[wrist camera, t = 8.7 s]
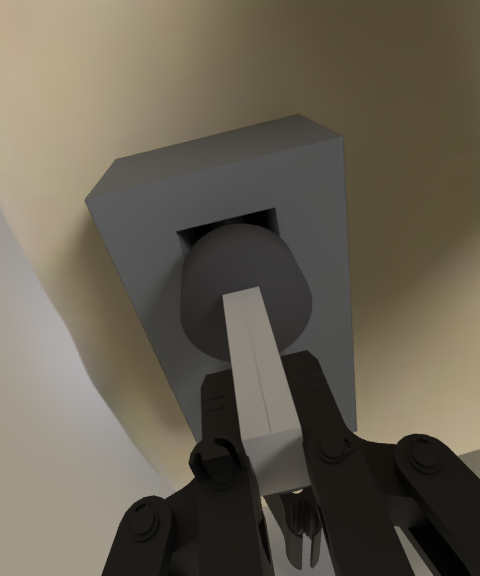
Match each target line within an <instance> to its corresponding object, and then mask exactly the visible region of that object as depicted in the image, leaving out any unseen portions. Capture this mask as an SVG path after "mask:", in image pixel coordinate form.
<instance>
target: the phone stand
mask: <svg viewBox="0 0 480 576" xmlns="http://www.w3.org/2000/svg"><path fill="white" fill-rule="evenodd" d="M263 497H264V499H265V501H266V503H267V505H268V506H269V508H270V510H271V512H272V514H273V516H274V517H275V519H276V521H277V523H278V525H279V526H280V528H281V530H282V533H283V535H284V539H285V544H286V555H287V558H288V560H289V561H290V563H291V564H292V565H293V566H294V567H295V568H297V569H299V570H302V542H303V541H302V540H303V535H302V534H304V533H305V534H306V536H307V537H308V536H309V538H310V539H311V540H312V543H311V559H310V566H311V568H313V567H315V565H316V564H317V562H318V560H319V553H320V542H321V530H322V525H321V521H320V520H319V518H318V512H317V507H316V501H315V496H314V493H313V489H312V486H311V485H310V486H308V487H306V488H304V489H303V491H302V492H300V493H298V494H295V493H292V492H290V493H284V494H269V495H265V496H263ZM298 532H299V533H300V534H299V533H298Z"/></svg>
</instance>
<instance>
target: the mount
mask: <svg viewBox="0 0 480 576" xmlns="http://www.w3.org/2000/svg"><path fill="white" fill-rule="evenodd" d="M85 203H86V205H87V207H88V209H89V211H90V213H91V216H92V218H93V220H94V222H95V224H96V226H97V228H98V231H99V233H100V235H101V237H102V239H103V241H104V244H105V246H106V248H107V250H108V252H109V254H110V257H111V259H112V261H113V263H114V265H115V267H116V269H117V272H118V274H119V276H120V278H121V280H122V282H123V285H124V287H125V289H126V291H127V293H128V295H129V298H130V300H131V302H132V304H133V306H134V308H135V311H136V313H137V315H138V317H139V319H140V321H141V323H142V326H143V328H144V330H145V332H146V334H147V336H148V339H149V341H150V343H151V345H152V347H153V349H154V352H155V354H156V356H157V358H158V360H159V362H160V365H161V367H162V369H163V371H164V373H165V375H166V377H167V380H168V382H169V384H170V386H171V388H172V390H173V393H174V395H175V397H176V399H177V401H178V403H179V406H180V408H181V410H182V412H183V414H184V416H185V419H186V421H187V423H188V425H189V427H190V429H191V431H192V434H193V436H194V438H195V440H196V442H197V444H198V443H199V442H200V441H201V440H202V423H201V415H202V413H201V386H202V383H203V381H204V379H205V376H206V375H207V374H211V373H216V372H220V371H224V370H228V369H232V364H231V362H227V361H222V360H218V359H215V358H213V357H210V356H208V355H206V354H205V353H203V352H201V351H200V350H199V349H197V348H196V347H195V346H194V345H193V344H192V343H191V342H190V341H189V339H188V338H187V336H186V335H185V333H184V330H183V328H182V325H181V320H180V301H181V280H182V268H183V264H184V261H185V258H186V256H187V254H188V253H189V251H190V250H191V248H192V247H193V246H194V244H195V243H196V242H197V238H196V235H195V231H194V228H193V227H196V226H200V225H205V224H209V223H213V222H217V221H221V220H225V219H229V218H233V217H237V216H242V215H246V214H250V213H254V212H258V211H261V216H262V222H263V227H264V228H266V229H268V230H270V231H272V232H274V233H275V234H277V235H278V236H279V237H280V238H281V239H282V240H284V242H285V243H286V244H287V245H288V247H289V249H290V250H291V252H292V254H293V256H294V258H295V260H296V262H297V264H298V266H299V268H300V269H301V271H302V273H303V275H304V277H305V279H306V281H307V283H308V285H309V288H310V290H311V294H312V313H311V316H310V320H309V322H308V324H307V326H306V328H305V330H304V331H303V333H302V334H301V335H300V336H299V338H298V339H297V340H296V341H295V342H294V343H293V344H291V345H290V346H289V347H288V348H286V349H285V350H284V353H285V355H288V354H292V353H296V352H301V351H305V350H308V351H309V352H310V353H311V354H312V355H313V356H315V357H316V358H317V359H318V361H319V363H320V366H321V368H322V371H323V374H324V375H325V378H326V380H327V383H328V385H329V387H330V389H331V392H332V394H333V397H334V399H335V401H336V404H337V406H338V408H339V411H340V413H341V415H342V418H343V420H344V422H345V424H346V426H347V427H348V429H349V430H350V431H351V432H356V431H357V420H356V398H355V377H354V356H353V335H352V314H351V293H350V271H349V250H348V229H347V208H346V187H345V165H344V144H343V136H341V135H339V134H337V133H335V132H333V131H331V130H329V129H327V128H325V127H323V126H321V125H319V124H317V123H315V122H313V121H311V120H309V119H307V118H305V117H303V116H301V115H299V114H298V115H294V116H290V117H285V118H281V119H277V120H273V121H269V122H265V123H261V124H257V125H253V126H249V127H245V128H241V129H237V130H233V131H229V132H225V133H221V134H217V135H213V136H209V137H204V138H200V139H196V140H192V141H188V142H184V143H180V144H176V145H172V146H168V147H164V148H160V149H156V150H152V151H148V152H144V153H140V154H136V155H132V156H128V157H124V158H119V159H116V160H115V161H114V162H113V164H112V165H111V166H110V167H109V169H108V170H107V171H106V173H105V174H104V175H103V177H102V178H101V179H100V180H99V182H98V183H97V184H96V186H95V187H94V188H93V189H92V191H91V192H90V193H89V195H88V196H87V197H86V198H85Z"/></svg>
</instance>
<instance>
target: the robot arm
mask: <svg viewBox="0 0 480 576" xmlns="http://www.w3.org/2000/svg"><path fill="white" fill-rule="evenodd" d="M222 296H223V304H224V311H225V319H226V326H227V334H228V341H229V349H230V357H231V364H232V369H228V370H224V371H220V372H216V373H211V374H207V375H206V376H205V379H204V381H203V383H202V386H201V413H202V415H201V423H202V440H201V441H200V442H199V443H198V444H197V445H196V446H195V447H194V449H193V451H192V452H191V454H190V459H189V466H190V468H191V470H192V472H193V474H194V476H195V478H194V479H193V480H192V481H191V482H190V483H189V484H188V485H186V486H185V487H184V488H182V489H181V490H179V491H177V492H176V493H174V494H172V495H171V496H169V497H167V498H166V499H163V498H161V497H158V496H154V495H153V496H148V497H143V498H142V499H140V500H138V501H137V502H135V503H134V504H133V505H132V506H131V507H130V508H129V509H128V511H126V513H125V515H124V516H123V518H122V520H121V522H120V524H119V527H118V530H117V533H116V536H115V539H114V541H113V544H112V547H111V550H110V553H109V556H108V558H107V561H106V564H105V567H104V570H103V572H102V575H101V576H275V574H274V568H273V561H272V555H271V549H270V543H269V537H268V531H267V525H266V519H265V516H264V513H263V511H262V504H261V498H260V496H265V495H269V494H273V493H278V492H282V491H286V490H291V489H295V488H299V487H304V486H308V485H311V486H312V489H313V493H314V496H315V501H316V507H317V512H318V518H319V520H320V521H321V525H322V528H323V532H324V536H325V539H326V543H327V546H328V550H329V553H330V557H331V561H332V564H333V568H334V572H335V575H336V576H415V575H414V572H413V570H412V568H411V565H410V563H409V561H408V558H407V556H406V554H405V551H404V549H403V547H402V544H401V542H400V540H399V537H398V535H397V533H396V530H395V528H394V526H399V527H400V528H401V530H402V531H403V532H404V534H405V535H406V537H407V538H408V540H409V541H410V542H411V544H412V545H413V547H414V548H415V550H416V551H417V552H418V554H419V555H420V556H421V558H422V559H423V561H424V562H425V564H426V565H427V567H428V568H429V570H430V571H431V572H432V574H433V575H434V576H480V479H479V478H478V477H477V476H476V475H475V474H474V473H473V472H472V471H471V470H470V469H469V468H468V467H467V466H466V465H465V464H464V463H463V462H462V461H461V460H460V459H459V458H458V457H457V456H456V455H455V453H454V452H453V451H452V450H451V449H450V448H449V447H448V446H446V445H445V444H444V443H442V442H441V441H440V440H438V439H436V438H434V437H431V436H429V435H426V434H411V435H408V436H405V437H403V438H402V439H401V440H400V441H399V442H398V443H397V444H385V443H375V442H370V441H366V440H364V439H362V438H359V437H358V436H356V435H355V434H353V433H352V432H351V431H350V430H349V429H348V427H347V426H346V424H345V422H344V420H343V418H342V415H341V413H340V411H339V408H338V406H337V404H336V401H335V399H334V397H333V394H332V392H331V389H330V387H329V385H328V383H327V380H326V378H325V375H324V374H323V371H322V368H321V366H320V363H319V361H318V359H317V358H316V357H315V356H313V355H312V354H311V353H310V352H309V351H308V350H305V351H301V352H296V353H292V354H288V355H284V356H279V352H278V349H277V346H276V342H275V339H274V336H273V332H272V329H271V326H270V322H269V319H268V316H267V312H266V309H265V305H264V302H263V299H262V295H261V292H260V289H259V286H258V287H254V288H250V289H246V290H242V291H238V292H233V293H229V294H225V295H222Z"/></svg>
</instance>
